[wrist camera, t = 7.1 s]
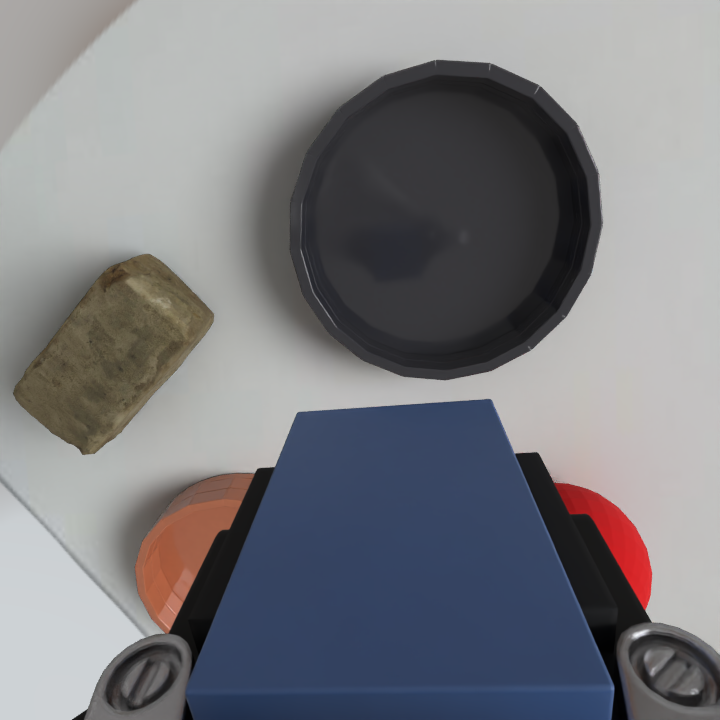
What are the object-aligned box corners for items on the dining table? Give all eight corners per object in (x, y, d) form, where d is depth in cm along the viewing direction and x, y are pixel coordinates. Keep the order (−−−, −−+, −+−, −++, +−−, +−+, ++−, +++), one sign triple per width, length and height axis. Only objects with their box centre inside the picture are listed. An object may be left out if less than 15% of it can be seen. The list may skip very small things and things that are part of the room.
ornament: (448, 527, 34) (469, 661, 25) (528, 431, 31) (586, 542, 22) (553, 583, 35) (611, 731, 26) (640, 495, 32) (741, 627, 23)
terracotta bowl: (119, 563, 37) (96, 594, 34) (229, 432, 32) (213, 457, 30) (277, 663, 40) (269, 700, 37) (401, 556, 35) (401, 589, 32)
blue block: (322, 561, 13) (257, 914, 7) (296, 410, 11) (180, 693, 5) (493, 555, 12) (590, 926, 6) (491, 398, 11) (617, 689, 5)
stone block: (229, 310, 29) (197, 336, 25) (127, 428, 33) (83, 470, 28) (150, 242, 28) (102, 256, 24) (54, 372, 32) (-5, 407, 27)
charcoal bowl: (248, 247, 28) (231, 256, 25) (428, -1, 23) (433, -25, 20) (443, 406, 31) (448, 429, 28) (641, 213, 26) (670, 218, 23)
